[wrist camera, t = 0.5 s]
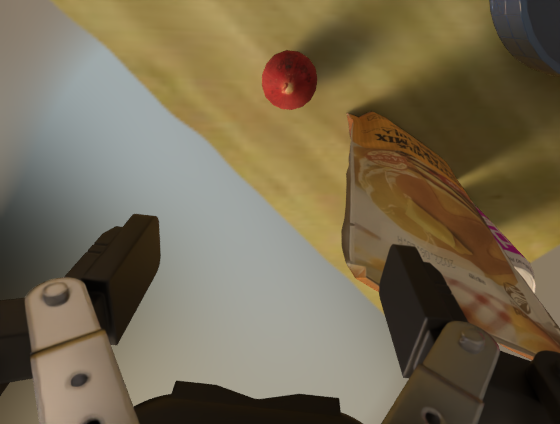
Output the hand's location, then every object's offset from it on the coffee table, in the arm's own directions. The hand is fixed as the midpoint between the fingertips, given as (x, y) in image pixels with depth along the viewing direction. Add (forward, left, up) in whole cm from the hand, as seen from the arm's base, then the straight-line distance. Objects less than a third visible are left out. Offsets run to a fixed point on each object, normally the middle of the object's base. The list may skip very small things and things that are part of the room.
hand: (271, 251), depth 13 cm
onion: (-1, 0, -34) cm, 34 cm away
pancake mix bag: (+7, +14, -34) cm, 38 cm away
